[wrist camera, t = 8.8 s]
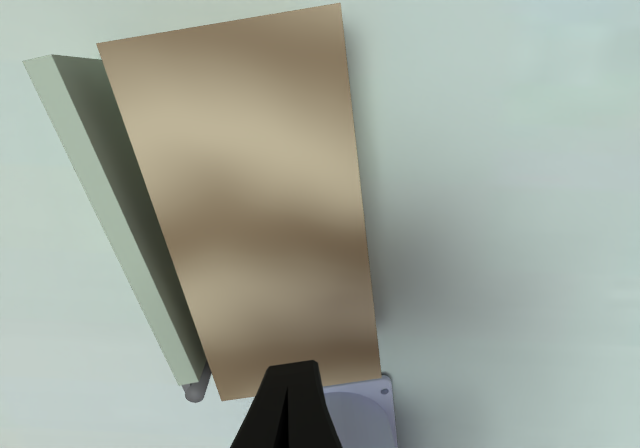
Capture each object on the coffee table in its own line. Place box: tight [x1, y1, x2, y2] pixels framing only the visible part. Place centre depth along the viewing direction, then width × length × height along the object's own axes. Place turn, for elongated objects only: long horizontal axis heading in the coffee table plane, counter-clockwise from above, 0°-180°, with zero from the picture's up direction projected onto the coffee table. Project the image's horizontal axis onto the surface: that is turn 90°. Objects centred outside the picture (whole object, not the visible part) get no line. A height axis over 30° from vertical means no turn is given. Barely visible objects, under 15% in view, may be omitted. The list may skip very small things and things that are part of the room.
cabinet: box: [96, 3, 382, 401], centre depth 16 cm, size 16×8×4 cm, turn 9°
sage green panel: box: [22, 55, 212, 403], centre depth 16 cm, size 16×1×4 cm, turn 12°
